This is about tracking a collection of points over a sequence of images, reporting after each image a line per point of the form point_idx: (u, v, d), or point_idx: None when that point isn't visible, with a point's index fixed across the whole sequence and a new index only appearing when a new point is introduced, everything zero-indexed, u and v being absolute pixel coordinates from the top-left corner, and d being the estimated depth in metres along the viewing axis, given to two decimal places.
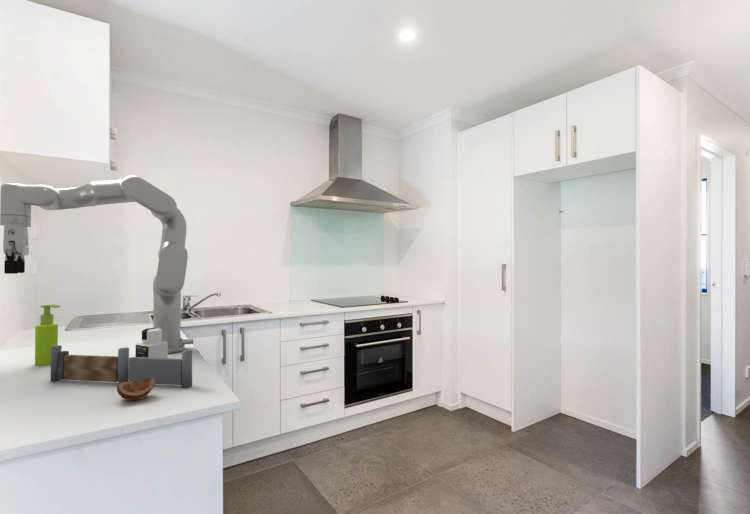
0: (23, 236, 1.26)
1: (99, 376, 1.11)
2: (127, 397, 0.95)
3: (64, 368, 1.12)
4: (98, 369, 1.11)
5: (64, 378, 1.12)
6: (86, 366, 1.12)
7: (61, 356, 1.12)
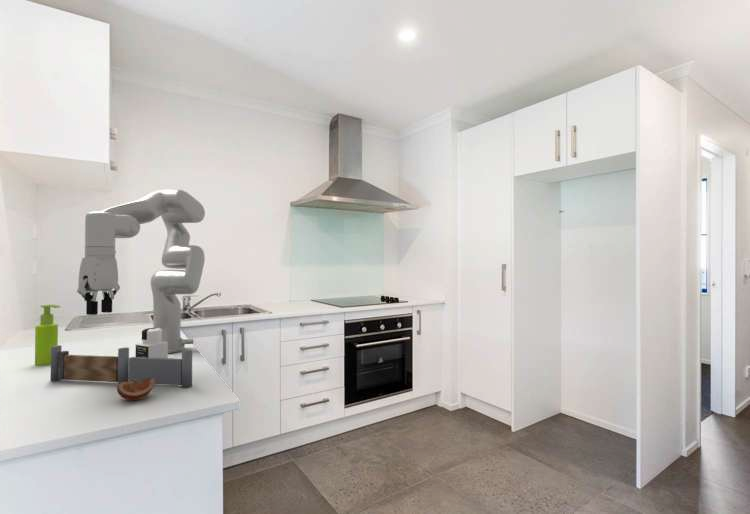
0: None
1: (99, 376, 1.11)
2: (127, 397, 0.95)
3: (64, 368, 1.12)
4: (98, 369, 1.11)
5: (64, 378, 1.12)
6: (86, 366, 1.12)
7: (61, 356, 1.12)
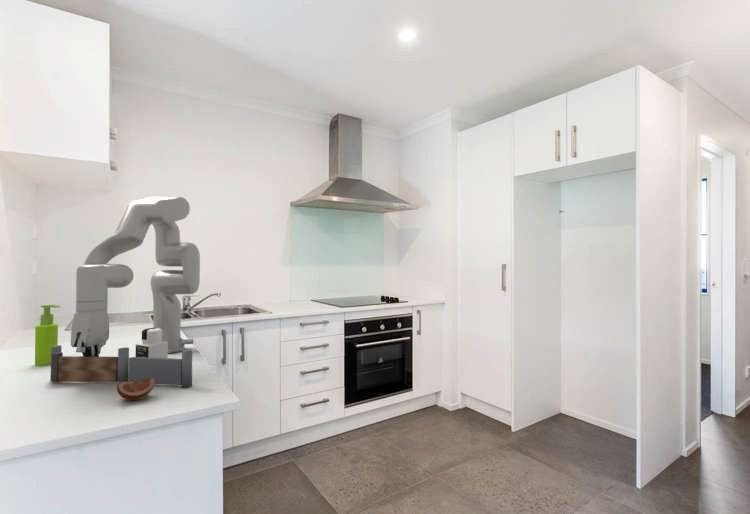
0: None
1: (97, 377, 1.10)
2: (127, 397, 0.95)
3: (59, 369, 1.11)
4: (96, 370, 1.10)
5: (58, 380, 1.11)
6: (83, 367, 1.10)
7: (55, 357, 1.10)
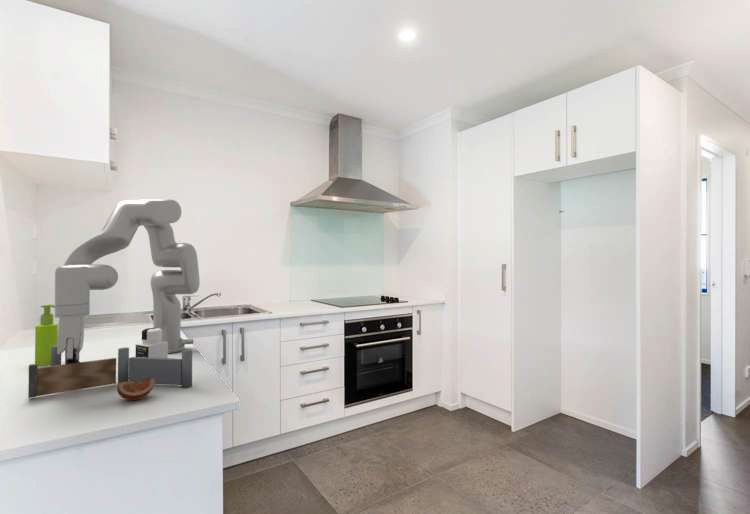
0: None
1: (93, 382, 1.06)
2: (127, 397, 0.95)
3: (38, 382, 0.99)
4: (91, 374, 1.06)
5: (38, 394, 0.99)
6: (73, 375, 1.03)
7: (34, 369, 0.98)
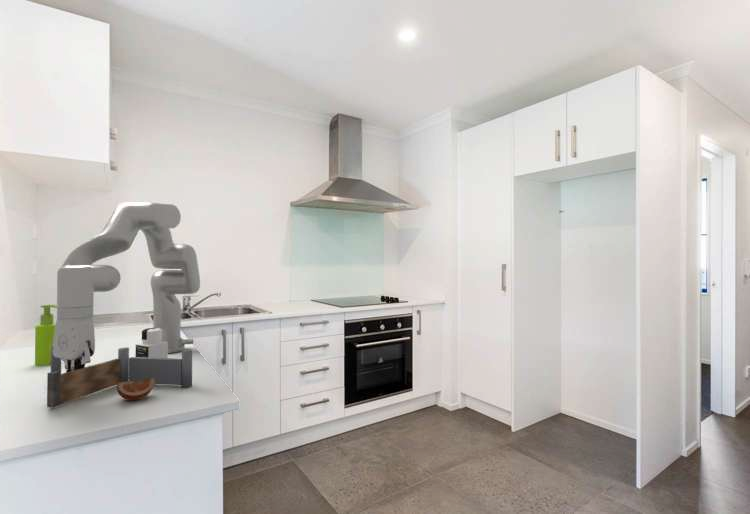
0: (55, 333, 0.99)
1: (102, 384, 1.04)
2: (127, 397, 0.95)
3: (60, 390, 0.93)
4: (101, 377, 1.03)
5: (60, 403, 0.93)
6: (88, 379, 1.00)
7: (58, 377, 0.92)
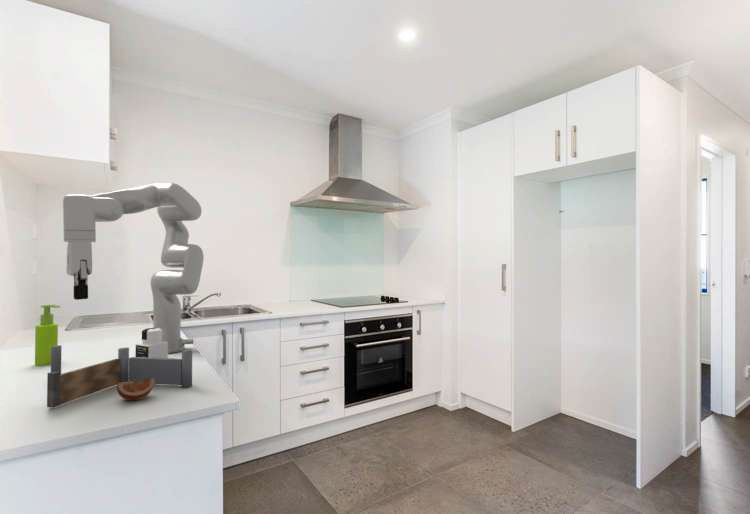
0: None
1: (102, 384, 1.04)
2: (127, 397, 0.95)
3: (60, 390, 0.93)
4: (101, 377, 1.03)
5: (60, 403, 0.93)
6: (88, 379, 1.00)
7: (58, 377, 0.92)
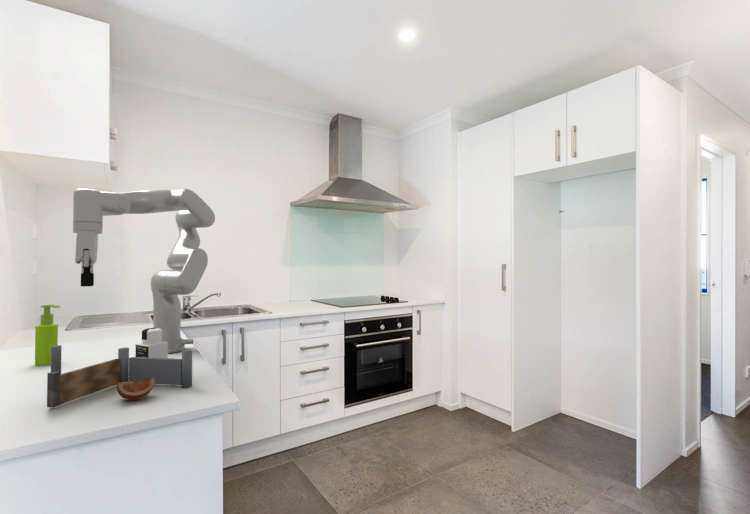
0: None
1: (102, 384, 1.04)
2: (127, 397, 0.95)
3: (60, 390, 0.93)
4: (101, 377, 1.03)
5: (60, 403, 0.93)
6: (88, 379, 1.00)
7: (58, 377, 0.92)
